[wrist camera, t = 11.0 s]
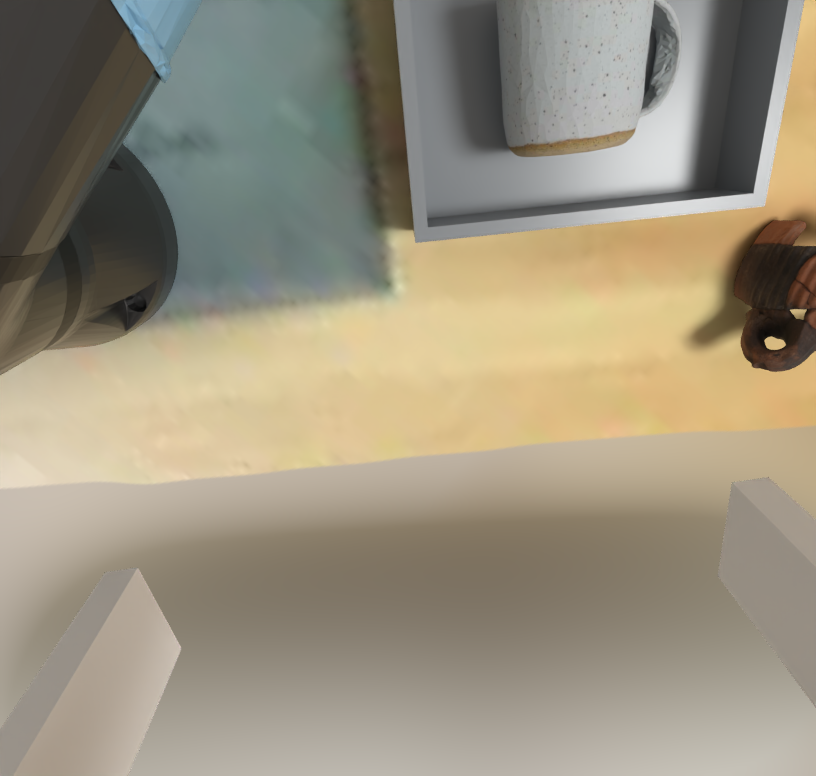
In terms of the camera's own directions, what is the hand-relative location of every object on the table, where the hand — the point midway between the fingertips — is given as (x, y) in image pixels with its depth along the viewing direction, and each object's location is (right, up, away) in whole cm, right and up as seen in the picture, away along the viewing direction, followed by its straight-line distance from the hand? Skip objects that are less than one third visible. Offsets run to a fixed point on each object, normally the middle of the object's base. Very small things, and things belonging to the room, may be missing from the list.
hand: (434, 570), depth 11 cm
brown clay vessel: (+27, +12, +26) cm, 39 cm away
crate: (+9, +23, +20) cm, 32 cm away
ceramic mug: (+9, +23, +19) cm, 31 cm away
